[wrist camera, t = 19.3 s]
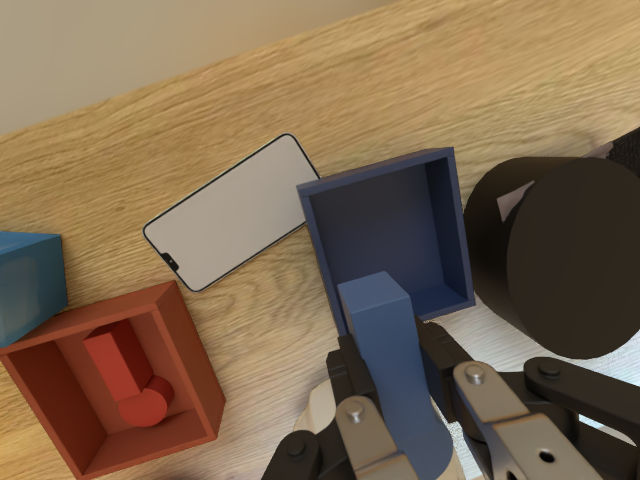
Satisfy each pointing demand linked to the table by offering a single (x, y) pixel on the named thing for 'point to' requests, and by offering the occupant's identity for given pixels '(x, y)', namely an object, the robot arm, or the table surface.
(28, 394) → the terracotta bin
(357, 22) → the table surface
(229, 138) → the table surface
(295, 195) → the smartphone
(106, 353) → the red spoon
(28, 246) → the perfume bottle
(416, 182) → the navy bin
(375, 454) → the robot arm
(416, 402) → the blue spoon
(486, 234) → the black oval cylinder
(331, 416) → the vase
